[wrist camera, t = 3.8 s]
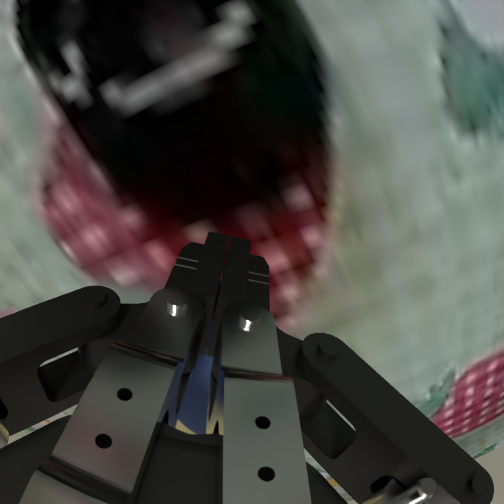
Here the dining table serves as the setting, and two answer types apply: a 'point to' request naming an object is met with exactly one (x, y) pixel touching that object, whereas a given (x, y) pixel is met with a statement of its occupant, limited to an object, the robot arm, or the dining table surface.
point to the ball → (197, 394)
